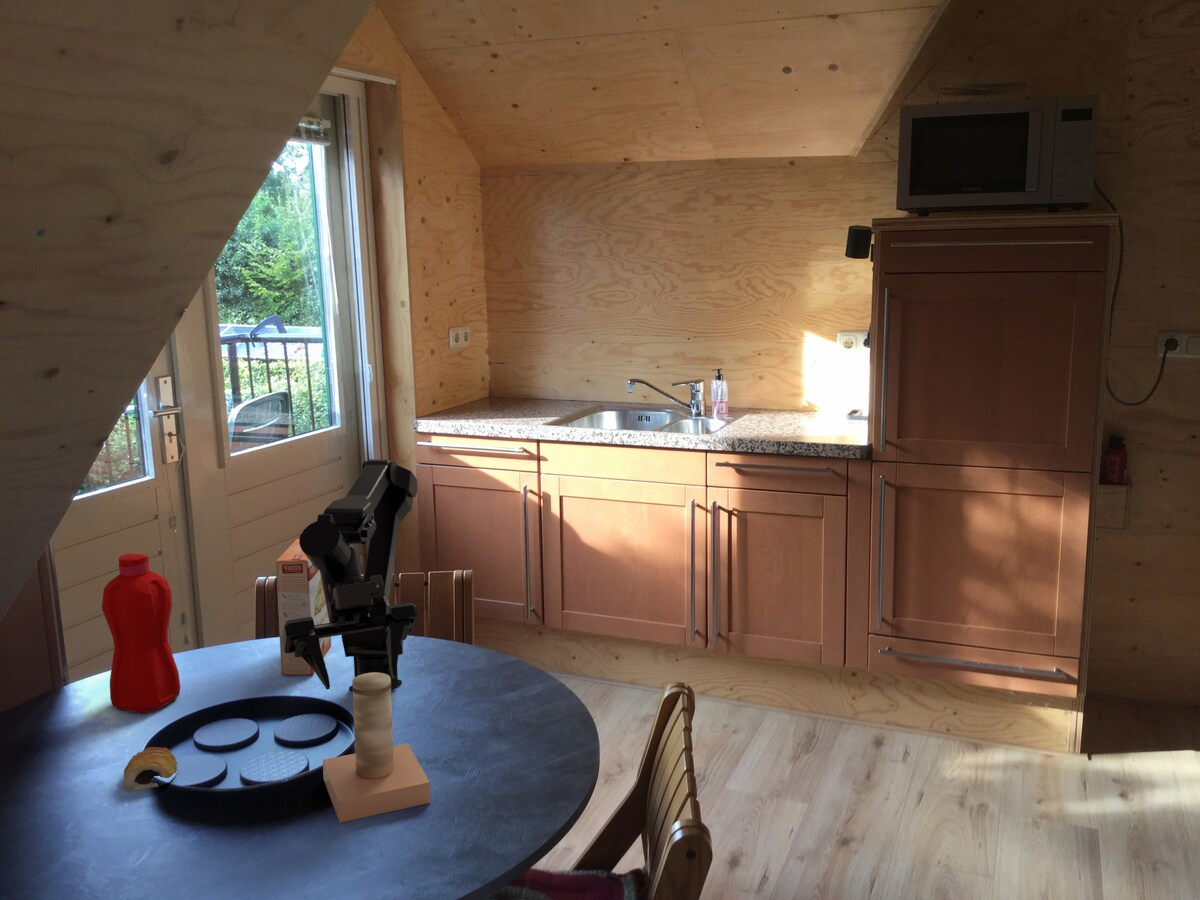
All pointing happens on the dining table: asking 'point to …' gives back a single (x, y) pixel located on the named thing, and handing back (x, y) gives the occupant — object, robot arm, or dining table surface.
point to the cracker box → (299, 602)
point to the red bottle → (140, 637)
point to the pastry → (148, 768)
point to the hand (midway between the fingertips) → (361, 682)
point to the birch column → (373, 725)
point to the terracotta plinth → (375, 786)
